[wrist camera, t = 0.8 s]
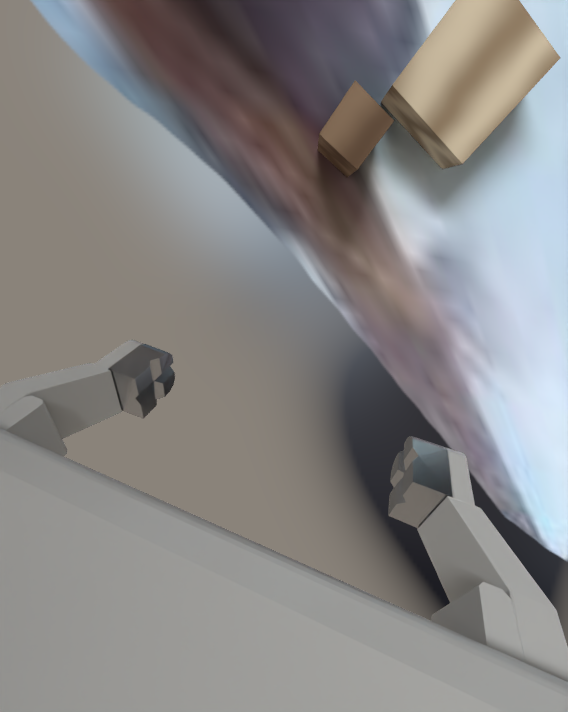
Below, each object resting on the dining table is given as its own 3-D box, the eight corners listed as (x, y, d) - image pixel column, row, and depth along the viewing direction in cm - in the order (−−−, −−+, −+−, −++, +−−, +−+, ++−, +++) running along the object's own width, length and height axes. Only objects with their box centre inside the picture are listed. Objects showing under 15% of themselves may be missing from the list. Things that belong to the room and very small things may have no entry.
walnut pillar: (317, 149, 39) (319, 133, 30) (344, 110, 37) (355, 80, 28) (347, 177, 40) (357, 169, 31) (374, 140, 38) (394, 120, 29)
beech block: (380, 102, 37) (392, 85, 31) (458, -2, 32) (487, -44, 27) (441, 169, 39) (462, 163, 34) (521, 80, 35) (560, 57, 29)
